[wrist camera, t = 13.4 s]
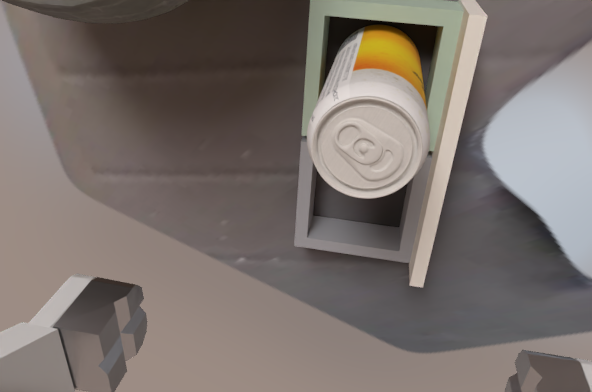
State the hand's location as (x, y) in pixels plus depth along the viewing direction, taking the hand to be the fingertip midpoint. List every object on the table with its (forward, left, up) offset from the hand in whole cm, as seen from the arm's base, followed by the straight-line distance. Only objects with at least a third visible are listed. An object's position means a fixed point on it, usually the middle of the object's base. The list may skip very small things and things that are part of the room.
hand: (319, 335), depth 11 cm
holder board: (0, +7, -29) cm, 30 cm away
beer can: (0, +2, -29) cm, 29 cm away
